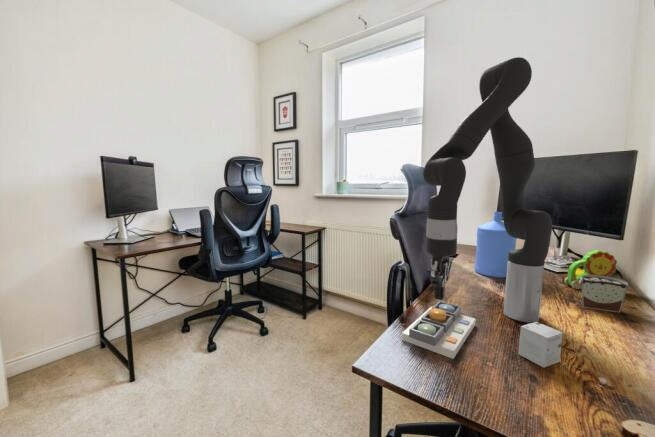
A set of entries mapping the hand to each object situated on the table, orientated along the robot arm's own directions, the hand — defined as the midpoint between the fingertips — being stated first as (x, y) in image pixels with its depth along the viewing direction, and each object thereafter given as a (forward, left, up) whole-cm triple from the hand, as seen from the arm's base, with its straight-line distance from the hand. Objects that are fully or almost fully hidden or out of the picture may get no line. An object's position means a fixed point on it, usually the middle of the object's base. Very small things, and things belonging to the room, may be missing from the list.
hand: (439, 298), depth 78 cm
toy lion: (-34, -74, -11) cm, 82 cm away
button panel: (0, -2, -10) cm, 10 cm away
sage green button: (+1, +6, -8) cm, 10 cm away
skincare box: (-22, -5, -11) cm, 25 cm away
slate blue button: (+1, -10, -8) cm, 13 cm away
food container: (-35, -53, -11) cm, 64 cm away
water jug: (-1, -71, -11) cm, 71 cm away
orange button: (+1, -2, -7) cm, 7 cm away
